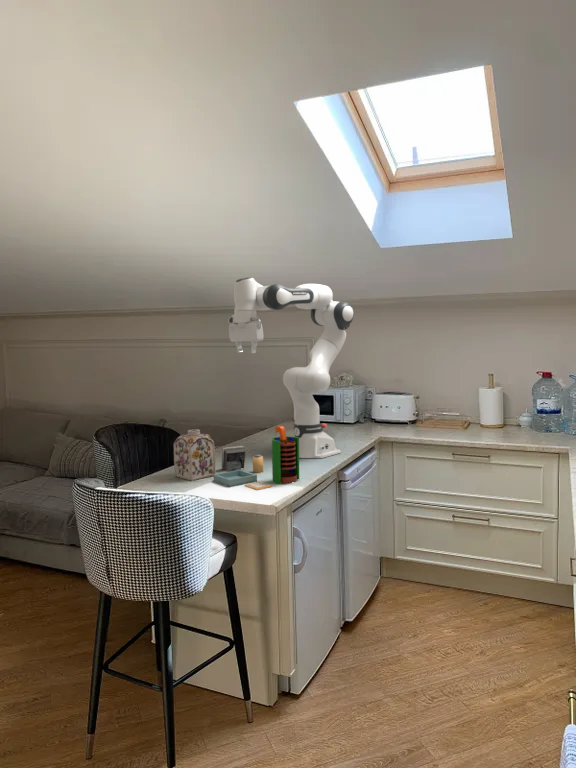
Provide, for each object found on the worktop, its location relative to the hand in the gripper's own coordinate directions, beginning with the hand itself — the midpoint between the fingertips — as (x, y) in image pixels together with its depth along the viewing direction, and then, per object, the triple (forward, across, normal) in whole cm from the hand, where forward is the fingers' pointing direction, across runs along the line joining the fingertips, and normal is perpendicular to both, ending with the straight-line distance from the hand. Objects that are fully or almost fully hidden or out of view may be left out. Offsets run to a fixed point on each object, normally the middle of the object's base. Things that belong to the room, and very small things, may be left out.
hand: (246, 353), depth 239 cm
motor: (+47, -28, +3) cm, 54 cm away
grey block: (+47, -7, +12) cm, 49 cm away
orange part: (+47, -9, +2) cm, 47 cm away
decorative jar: (+47, +2, +24) cm, 53 cm away
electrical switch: (+47, +2, +6) cm, 47 cm away
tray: (+47, -16, +17) cm, 52 cm away
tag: (+47, -28, +15) cm, 56 cm away
